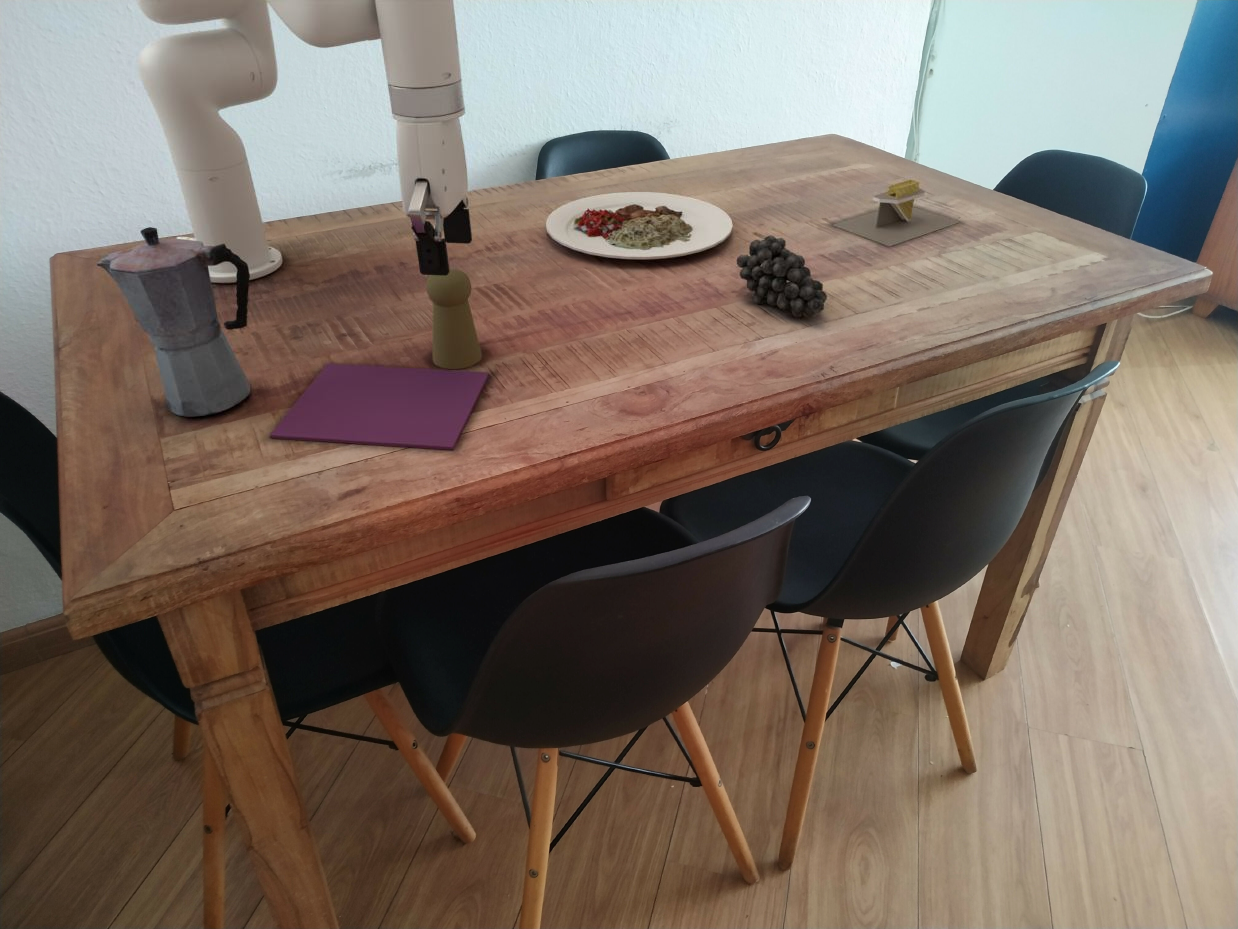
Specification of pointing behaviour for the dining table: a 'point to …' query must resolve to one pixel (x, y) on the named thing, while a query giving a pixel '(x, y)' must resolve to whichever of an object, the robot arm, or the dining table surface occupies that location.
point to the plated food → (639, 225)
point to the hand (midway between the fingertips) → (447, 257)
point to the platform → (896, 217)
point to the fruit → (781, 278)
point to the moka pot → (185, 319)
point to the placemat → (384, 406)
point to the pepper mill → (453, 321)
